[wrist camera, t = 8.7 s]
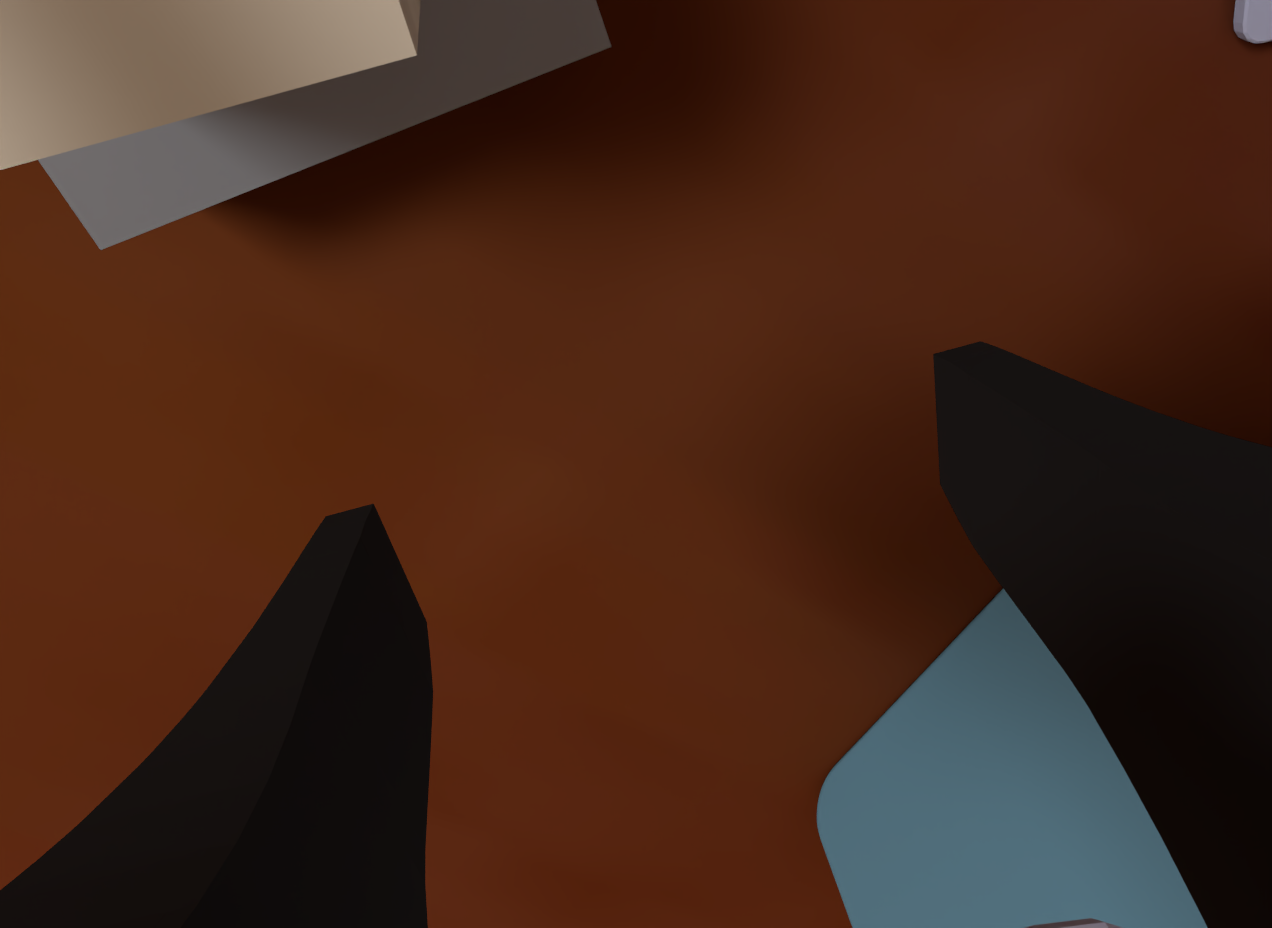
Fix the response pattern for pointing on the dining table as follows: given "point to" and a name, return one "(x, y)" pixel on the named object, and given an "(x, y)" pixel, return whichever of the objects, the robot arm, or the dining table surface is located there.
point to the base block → (320, 115)
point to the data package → (994, 801)
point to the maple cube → (173, 61)
